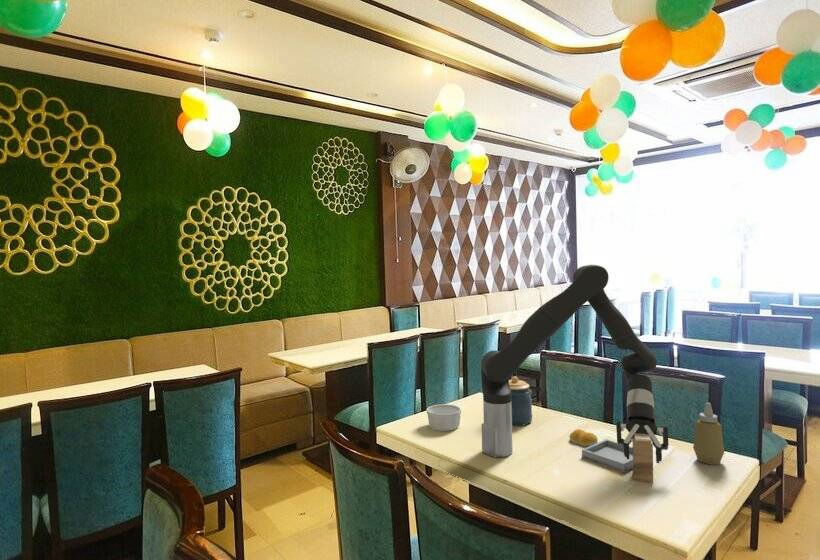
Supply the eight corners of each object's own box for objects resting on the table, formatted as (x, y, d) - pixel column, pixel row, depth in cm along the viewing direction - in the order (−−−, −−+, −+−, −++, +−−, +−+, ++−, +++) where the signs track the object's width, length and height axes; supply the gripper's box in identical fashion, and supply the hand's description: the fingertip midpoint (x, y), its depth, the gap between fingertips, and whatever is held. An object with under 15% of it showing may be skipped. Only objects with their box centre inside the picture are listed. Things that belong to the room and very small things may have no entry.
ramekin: (420, 429, 178) (420, 411, 178) (437, 419, 189) (436, 402, 189) (451, 435, 171) (451, 416, 171) (467, 424, 182) (466, 406, 182)
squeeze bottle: (721, 458, 146) (721, 401, 145) (726, 468, 138) (726, 408, 138) (691, 454, 149) (691, 398, 148) (695, 464, 142) (694, 405, 141)
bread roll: (590, 449, 156) (590, 437, 155) (566, 442, 162) (566, 430, 162) (602, 442, 161) (602, 431, 161) (578, 435, 168) (578, 424, 168)
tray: (624, 472, 137) (624, 464, 137) (582, 457, 149) (581, 449, 149) (648, 459, 146) (648, 451, 146) (606, 446, 157) (606, 439, 157)
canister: (523, 428, 176) (522, 382, 175) (492, 422, 184) (492, 377, 184) (537, 419, 186) (537, 375, 186) (508, 413, 194) (507, 371, 194)
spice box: (653, 482, 131) (652, 440, 130) (633, 479, 133) (633, 438, 132) (651, 475, 135) (651, 434, 135) (632, 472, 137) (632, 432, 137)
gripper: (614, 399, 143) (615, 451, 133) (668, 403, 137) (672, 458, 127) (614, 411, 148) (615, 462, 138) (666, 416, 142) (670, 469, 132)
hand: (642, 460), depth 132 cm, fingers open, 7 cm apart
